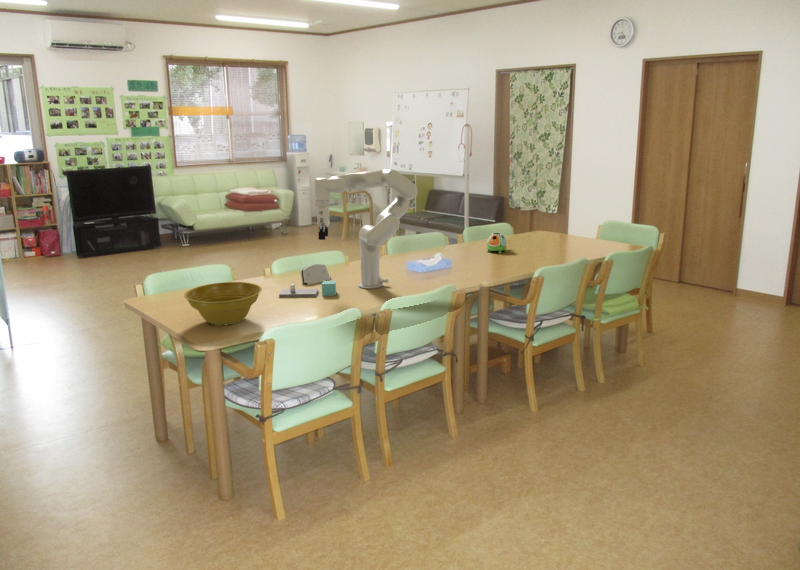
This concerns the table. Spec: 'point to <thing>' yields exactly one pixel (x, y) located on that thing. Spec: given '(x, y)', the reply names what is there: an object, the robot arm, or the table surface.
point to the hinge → (314, 274)
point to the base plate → (298, 292)
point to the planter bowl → (223, 301)
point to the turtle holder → (496, 242)
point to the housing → (328, 288)
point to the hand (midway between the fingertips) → (323, 237)
